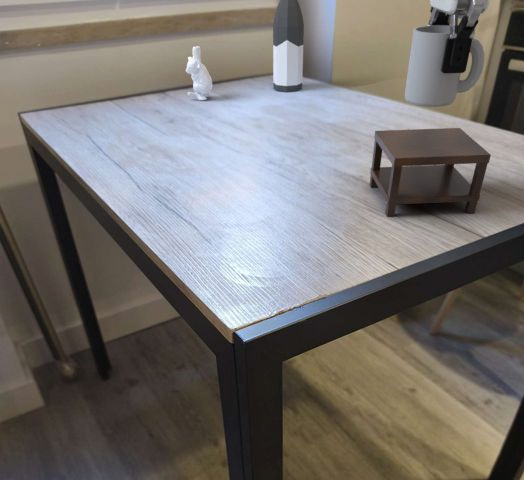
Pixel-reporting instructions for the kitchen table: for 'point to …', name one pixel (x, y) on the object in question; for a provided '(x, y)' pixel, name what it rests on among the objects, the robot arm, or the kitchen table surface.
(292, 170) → the kitchen table surface
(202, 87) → the white upright figurine
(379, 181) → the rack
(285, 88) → the wine bottle
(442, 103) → the cup
